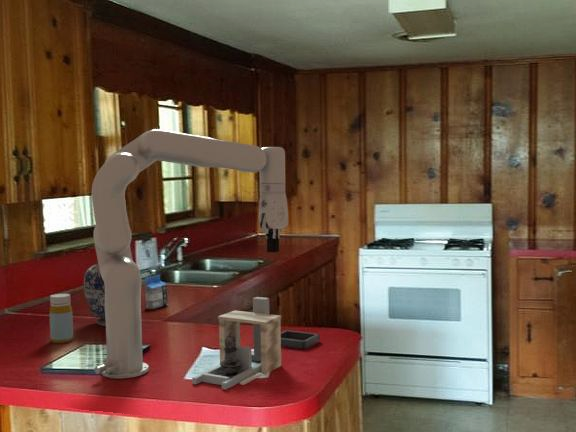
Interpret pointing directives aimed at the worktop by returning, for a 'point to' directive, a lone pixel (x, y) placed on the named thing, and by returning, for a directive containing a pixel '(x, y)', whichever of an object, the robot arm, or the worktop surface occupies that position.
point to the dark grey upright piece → (230, 357)
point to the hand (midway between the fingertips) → (273, 251)
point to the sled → (240, 355)
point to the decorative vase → (95, 293)
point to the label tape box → (155, 292)
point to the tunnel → (268, 335)
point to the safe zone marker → (250, 378)
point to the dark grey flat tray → (298, 339)
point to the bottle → (61, 318)
